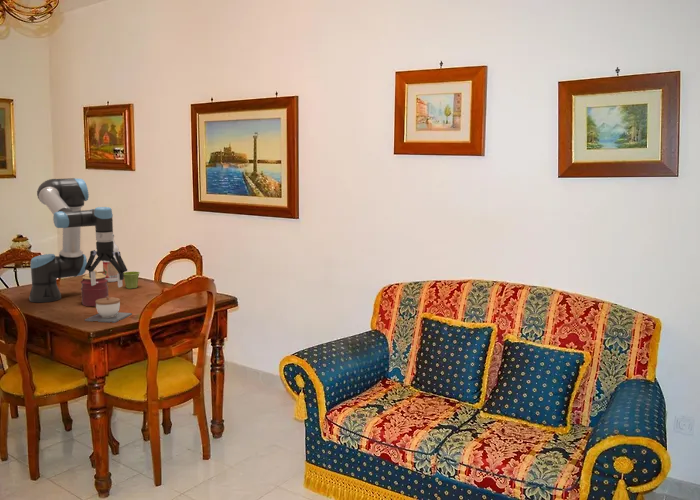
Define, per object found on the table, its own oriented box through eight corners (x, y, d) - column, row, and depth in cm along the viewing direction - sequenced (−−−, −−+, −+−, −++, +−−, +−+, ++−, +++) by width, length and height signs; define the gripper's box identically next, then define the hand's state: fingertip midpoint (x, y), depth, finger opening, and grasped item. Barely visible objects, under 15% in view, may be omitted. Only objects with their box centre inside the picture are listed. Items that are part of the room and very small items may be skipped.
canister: (76, 306, 321) (74, 271, 318) (90, 300, 333) (88, 267, 331) (100, 307, 319) (99, 272, 316) (114, 301, 331) (112, 268, 329)
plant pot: (135, 289, 359) (134, 274, 358) (119, 289, 360) (119, 274, 359) (143, 286, 368) (142, 271, 367) (128, 285, 369) (127, 271, 368)
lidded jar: (112, 312, 306) (111, 293, 305) (125, 315, 299) (124, 296, 298) (91, 316, 298) (90, 296, 296) (104, 320, 291) (102, 300, 290)
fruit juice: (116, 282, 379) (113, 235, 374) (100, 282, 380) (98, 235, 375) (123, 279, 388) (120, 233, 384) (108, 279, 389) (105, 233, 385)
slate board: (84, 321, 293) (84, 319, 293) (103, 313, 307) (103, 311, 307) (114, 322, 290) (114, 321, 290) (131, 314, 304) (131, 313, 304)
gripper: (75, 240, 292) (77, 285, 295) (125, 243, 287) (127, 289, 291) (85, 238, 299) (87, 282, 302) (133, 240, 294) (135, 285, 298)
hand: (106, 285), depth 297 cm, fingers open, 13 cm apart
